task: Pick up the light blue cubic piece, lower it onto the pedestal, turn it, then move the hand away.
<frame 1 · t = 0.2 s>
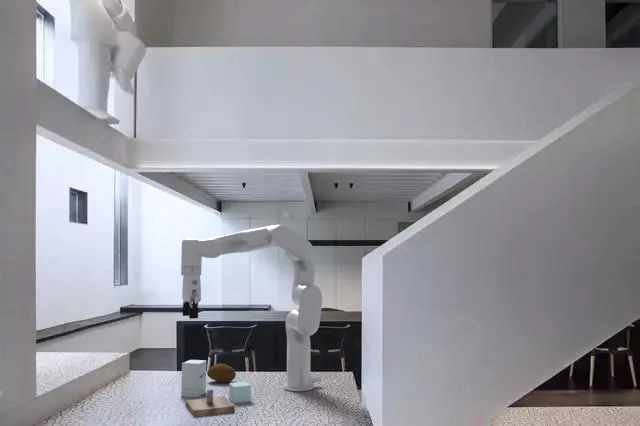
hand: (190, 317, 207), 31 cm above the countertop, fingers open, 9 cm apart
potato: (221, 382, 234), on the countertop
pedestal: (209, 408, 193), on the countertop
light blue cubic piece: (239, 400, 205), on the countertop
supplement box: (193, 395, 213), on the countertop
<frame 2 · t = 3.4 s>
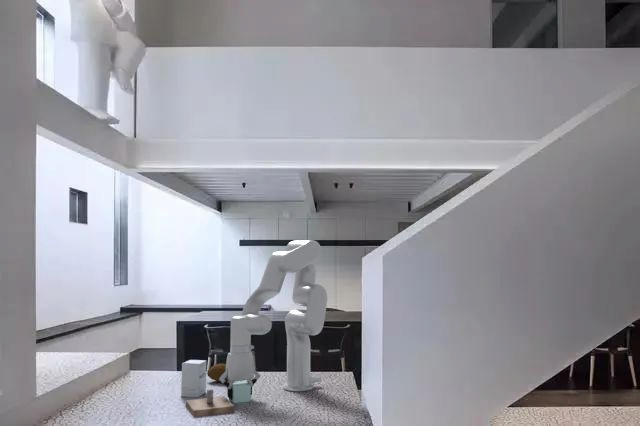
hand: (239, 397, 205), 1 cm above the countertop, fingers closed on light blue cubic piece, 6 cm apart
light blue cubic piece: (239, 400, 205), on the countertop, touching gripper
everything else where it was.
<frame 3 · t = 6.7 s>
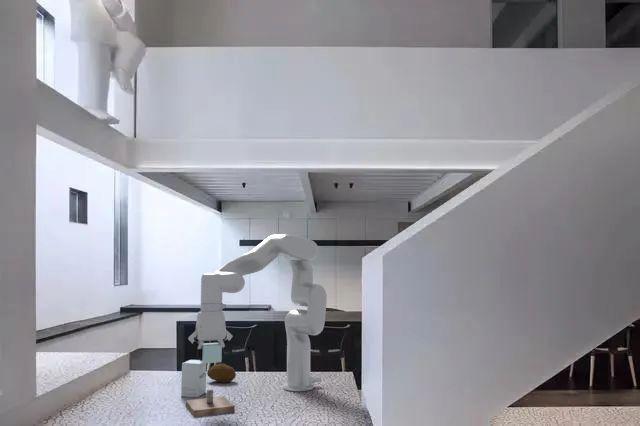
hand: (210, 358, 195), 17 cm above the countertop, fingers closed on light blue cubic piece, 6 cm apart
light blue cubic piece: (210, 361, 194), point 17 cm above the countertop, touching gripper
everything else where it was.
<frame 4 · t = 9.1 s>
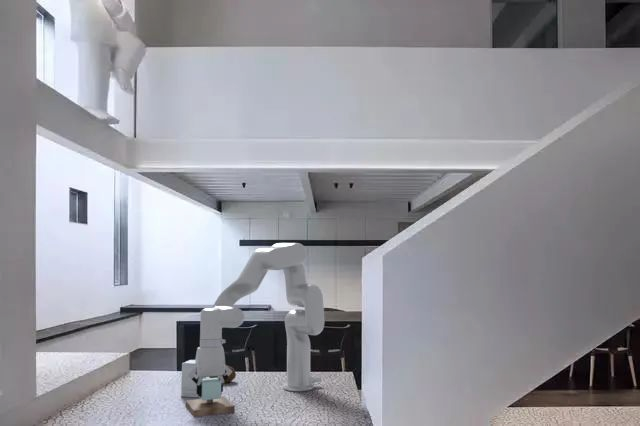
hand: (209, 394, 194), 5 cm above the countertop, fingers closed on light blue cubic piece, 6 cm apart
light blue cubic piece: (209, 397, 194), point 4 cm above the countertop, touching gripper
everything else where it was.
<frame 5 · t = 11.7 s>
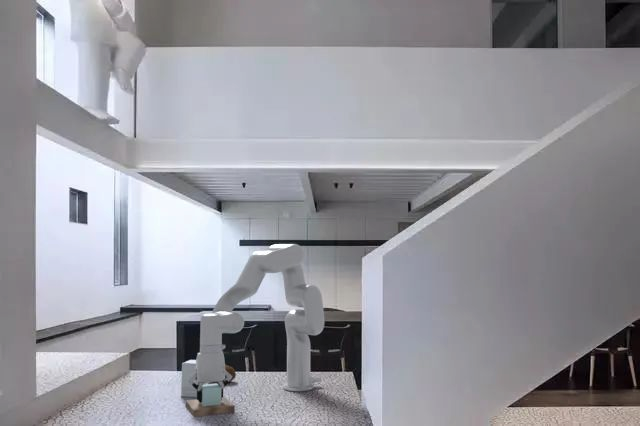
hand: (209, 400, 194), 3 cm above the countertop, fingers closed on light blue cubic piece, 6 cm apart
light blue cubic piece: (209, 403, 194), point 2 cm above the countertop, touching gripper, pedestal
everything else where it was.
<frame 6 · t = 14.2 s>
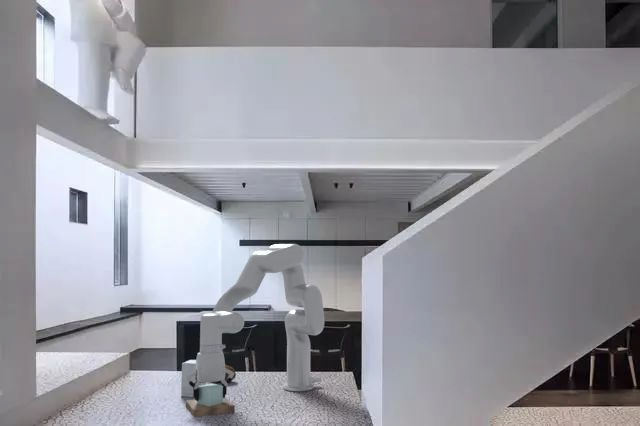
hand: (209, 398, 194), 4 cm above the countertop, fingers closed on light blue cubic piece, 9 cm apart
light blue cubic piece: (209, 403, 194), point 2 cm above the countertop, touching gripper, pedestal
everything else where it was.
when the fingers open (4 cm above the countertop, at t = 16.1 s): light blue cubic piece stays where it is, point 2 cm above the countertop.
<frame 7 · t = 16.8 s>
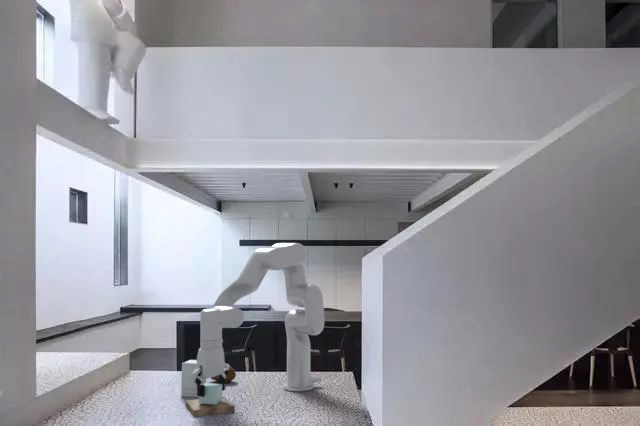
hand: (211, 393, 194), 5 cm above the countertop, fingers open, 9 cm apart
light blue cubic piece: (210, 402, 194), point 2 cm above the countertop, touching gripper
everything else where it was.
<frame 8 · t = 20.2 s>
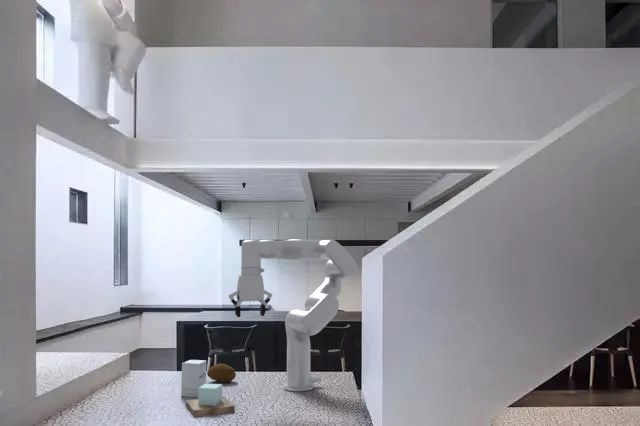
hand: (250, 316, 213), 30 cm above the countertop, fingers open, 9 cm apart
light blue cubic piece: (210, 402, 194), point 2 cm above the countertop, touching pedestal
everything else where it was.
at the end: light blue cubic piece 0.4 cm off-centre on the pedestal, point 2.0 cm above the pedestal's base; light blue cubic piece tilted 0°; the gripper is holding nothing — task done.
